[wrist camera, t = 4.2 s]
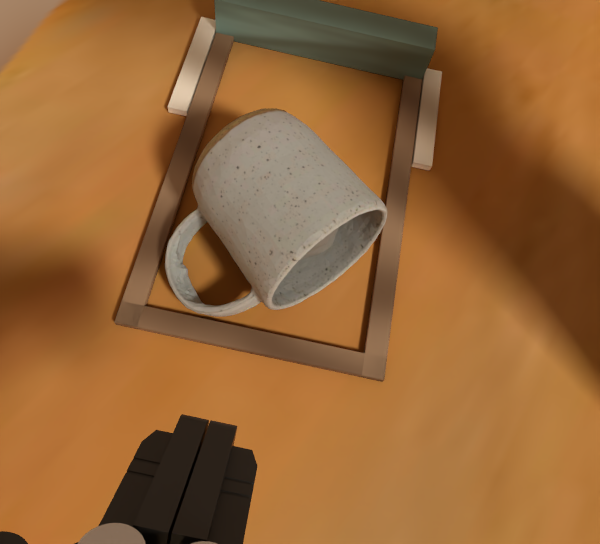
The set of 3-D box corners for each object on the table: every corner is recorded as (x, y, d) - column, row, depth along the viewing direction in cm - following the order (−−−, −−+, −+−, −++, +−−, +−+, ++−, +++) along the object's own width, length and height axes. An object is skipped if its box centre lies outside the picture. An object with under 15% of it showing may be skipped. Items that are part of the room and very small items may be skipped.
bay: (406, 386, 27) (424, 375, 25) (91, 319, 27) (74, 300, 24) (440, 66, 36) (457, 32, 34) (205, 12, 36) (202, -27, 33)
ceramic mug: (287, 158, 32) (297, 67, 25) (372, 255, 30) (409, 186, 23) (139, 247, 29) (103, 173, 22) (222, 362, 27) (212, 321, 20)
